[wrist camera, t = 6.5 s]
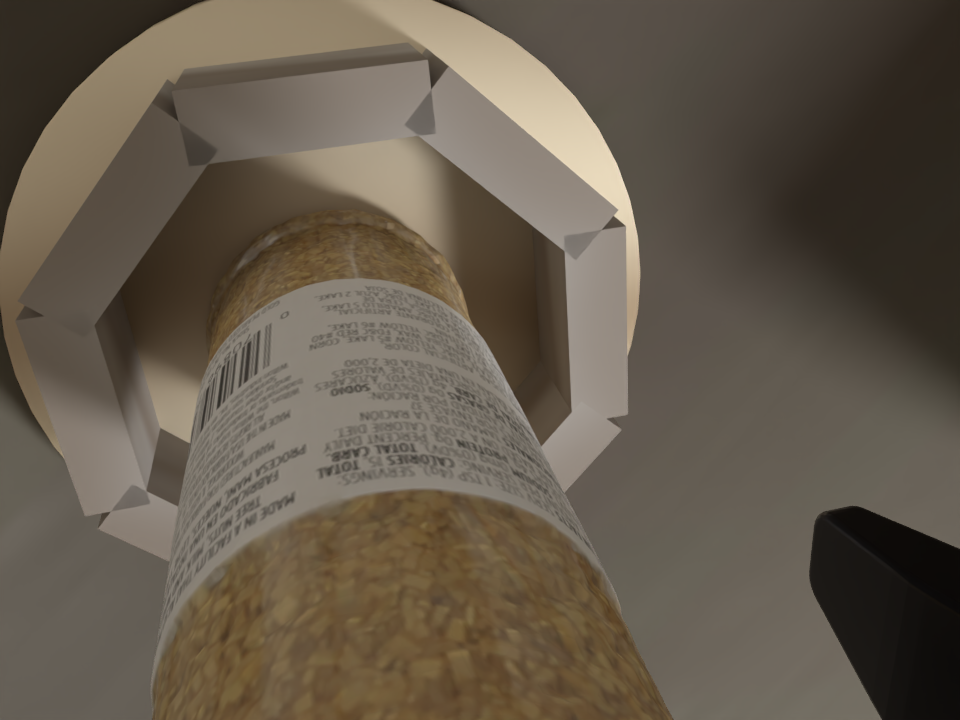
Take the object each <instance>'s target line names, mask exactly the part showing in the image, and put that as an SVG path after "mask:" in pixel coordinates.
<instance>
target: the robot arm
mask: <svg viewBox="0 0 960 720" xmlns="http://www.w3.org/2000/svg"><path fill="white" fill-rule="evenodd" d="M809 576H810V583H811V587H812V590H813V593H814V595H815V597H816V599H817V601H818V603H819V605H820V607H821V609H822V610H823V612H824V614H825V616H826V618H827V620H828V622H829V623H830V625H831V627H832V629H833V631H834V633H835V635H836V636H837V638H838V640H839V642H840V644H841V646H842V648H843V649H844V651H845V653H846V655H847V657H848V659H849V661H850V662H851V664H852V666H853V668H854V670H855V672H856V674H857V675H858V677H859V679H860V681H861V683H862V685H863V687H864V688H865V690H866V692H867V694H868V696H869V698H870V700H871V701H872V703H873V705H874V707H875V708H876V710H877V712H878V714H879V715H880V717H881V719H882V720H960V549H959V548H956V547H954V546H952V545H949V544H947V543H945V542H942V541H940V540H937V539H935V538H933V537H930V536H928V535H926V534H923V533H921V532H918V531H916V530H914V529H911V528H909V527H907V526H904V525H902V524H899V523H897V522H895V521H892V520H890V519H888V518H885V517H883V516H880V515H878V514H876V513H873V512H871V511H869V510H866V509H864V508H861V507H858V506H848V507H843V508H839V509H834V510H829V511H825V512H823V513H821V514H819V515H818V517H817V519H816V520H815V525H814V532H813V542H812V551H811V560H810V570H809Z"/></svg>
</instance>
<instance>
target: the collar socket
mask: <svg viewBox="0 0 960 720" xmlns="http://www.w3.org/2000/svg"><path fill="white" fill-rule="evenodd" d="M351 209H357V210H360V211H364V212H368V213H371V214H375V215H380V216H383V217H386V218H390V219H393V220H395V221H396V222H398V223H400V224H402V225H403V226H405V227H407V228H409V229H411V230H413V231H414V232H416V233H418V234H419V235H421V236H422V237H423V238H424V239H425V240H426V242H427V243H428V244H429V245H431V246H432V247H433V248H435V249H436V250H437V251H438V252H440V253H441V254H442V255H443V256H444V257H445V259H446V260H447V262H448V264H449V265H450V267H451V269H452V272H453V274H454V276H455V278H456V280H457V282H458V284H459V286H460V287H461V289H462V292H463V295H464V298H465V301H466V305H467V310H468V315H469V318H470V320H471V322H472V324H473V326H474V327H475V329H476V330H477V332H478V333H479V334H480V335H481V337H482V338H483V339H484V341H485V342H486V344H487V346H488V347H489V349H490V351H491V352H492V354H493V356H494V358H495V360H496V361H497V363H498V365H499V367H500V369H501V371H502V373H503V375H504V377H505V379H506V380H507V382H508V384H509V386H510V388H511V390H512V392H513V394H514V396H515V398H516V399H517V401H518V403H519V404H520V406H521V408H522V410H523V412H524V414H525V416H526V418H527V420H528V422H529V424H530V426H531V428H532V430H533V432H534V434H535V436H536V438H537V440H538V442H539V444H540V446H541V448H542V450H543V452H544V454H545V456H546V458H547V460H548V462H549V464H550V466H551V468H552V470H553V472H554V474H555V476H556V478H557V480H558V482H559V484H560V486H561V487H562V489H563V491H564V492H565V491H566V490H567V489H568V488H569V487H570V486H571V485H572V484H573V483H574V481H575V480H576V479H577V478H578V477H579V476H580V475H581V474H582V473H583V472H584V470H585V469H586V468H587V467H588V466H589V465H590V464H591V463H592V462H593V461H594V459H595V458H596V457H597V456H598V455H599V454H600V453H601V452H602V451H603V450H604V448H605V447H606V446H607V445H608V444H609V443H610V442H611V441H612V440H613V439H614V438H615V436H616V435H617V434H618V433H619V432H620V431H621V430H622V429H621V428H620V426H619V425H618V423H617V422H616V420H615V419H614V418H613V417H617V416H623V415H628V367H627V355H628V352H629V349H630V346H631V343H632V338H633V333H634V328H635V323H636V317H637V312H638V303H639V287H640V262H639V247H638V236H637V231H636V226H635V222H634V217H633V212H632V207H631V202H630V199H629V196H628V193H627V191H626V188H625V185H624V182H623V179H622V177H621V174H620V171H619V168H618V165H617V163H616V161H615V159H614V158H613V156H612V154H611V152H610V150H609V148H608V146H607V144H606V142H605V140H604V139H603V137H602V135H601V133H600V131H599V129H598V128H597V126H596V125H595V124H594V122H593V121H592V120H591V118H590V117H589V115H588V114H587V113H586V111H585V110H584V108H583V107H582V106H581V104H580V103H579V102H578V100H577V99H576V97H575V96H574V95H573V94H572V93H571V92H570V91H569V90H568V89H567V88H566V87H565V86H564V85H563V84H562V83H561V82H560V81H559V80H558V78H557V77H556V76H555V75H554V74H553V73H552V72H551V71H550V70H549V69H548V68H547V67H546V66H545V65H544V64H542V63H541V62H540V61H538V60H537V59H536V58H535V57H533V56H532V55H531V54H529V53H528V52H527V51H526V50H524V49H523V48H522V47H520V46H519V45H518V44H517V43H515V42H514V41H513V40H512V39H510V38H508V37H506V36H505V35H503V34H501V33H499V32H498V31H496V30H494V29H493V28H491V27H489V26H487V25H486V24H484V23H482V22H480V21H479V20H477V19H475V18H473V17H472V16H469V15H467V14H465V13H463V12H461V11H458V10H456V9H453V8H451V7H449V6H446V5H444V4H441V3H439V2H436V1H434V0H205V1H202V2H199V3H196V4H194V5H192V6H190V7H188V8H186V9H184V10H182V11H180V12H178V13H176V14H174V15H172V16H170V17H168V18H166V19H164V20H162V21H160V22H158V23H156V24H154V25H153V26H151V27H150V28H149V29H147V30H146V31H144V32H143V33H142V34H140V35H139V36H137V37H136V38H134V39H133V40H132V41H130V42H129V43H127V44H126V45H124V46H123V47H122V48H120V49H119V50H117V51H116V52H115V53H114V54H113V55H111V56H110V57H109V58H108V59H107V60H106V61H104V62H103V63H102V64H101V65H100V66H99V67H98V68H97V69H96V70H95V71H94V72H93V73H92V74H91V75H90V76H89V77H88V78H87V79H86V80H85V81H84V82H83V83H81V84H80V85H79V86H78V87H77V88H76V89H75V90H74V91H73V92H72V93H71V95H70V96H69V97H68V99H67V100H66V101H65V103H64V104H63V105H62V107H61V108H60V109H59V110H58V112H57V113H56V114H55V116H54V117H53V118H52V120H51V121H50V122H49V124H48V125H47V126H46V127H45V129H44V130H43V132H42V134H41V136H40V138H39V140H38V142H37V143H36V145H35V147H34V149H33V151H32V153H31V154H30V156H29V158H28V160H27V162H26V164H25V165H24V167H23V169H22V172H21V175H20V178H19V181H18V183H17V186H16V189H15V192H14V195H13V198H12V200H11V203H10V206H9V209H8V213H7V218H6V223H5V229H4V234H3V240H2V245H1V250H0V308H1V315H2V323H3V331H4V338H5V341H6V344H7V348H8V351H9V355H10V358H11V362H12V365H13V369H14V372H15V376H16V378H17V380H18V382H19V385H20V387H21V389H22V391H23V393H24V396H25V398H26V400H27V402H28V404H29V407H30V409H31V411H32V413H33V414H34V416H35V418H36V419H37V421H38V422H39V424H40V425H41V427H42V429H43V430H44V432H45V433H46V435H47V436H48V438H49V440H50V441H51V443H52V444H53V446H54V447H55V448H56V449H57V450H58V452H59V453H60V454H61V455H62V456H63V458H64V459H65V462H66V464H67V467H68V470H69V473H70V476H71V478H72V481H73V484H74V487H75V490H76V492H77V495H78V498H79V501H80V504H81V506H82V509H83V512H84V515H85V516H89V515H95V514H100V513H102V516H101V519H100V523H99V526H98V529H99V530H101V531H103V532H105V533H108V534H110V535H112V536H114V537H116V538H118V539H121V540H123V541H125V542H127V543H129V544H132V545H134V546H136V547H138V548H140V549H143V550H145V551H147V552H149V553H151V554H154V555H156V556H158V557H160V558H162V559H165V560H167V561H170V554H171V547H172V541H173V535H174V529H175V523H176V517H177V511H178V506H179V500H180V495H181V490H182V485H183V479H184V474H185V469H186V463H187V457H188V451H189V445H190V439H191V432H192V425H193V419H194V413H195V408H196V403H197V397H198V393H199V389H200V386H201V382H202V379H203V377H204V374H205V372H206V370H207V365H208V359H209V357H208V350H207V341H206V325H207V319H208V315H209V312H210V306H211V300H212V297H213V294H214V292H215V289H216V286H217V284H218V283H219V281H220V280H221V279H222V277H223V276H224V275H225V274H226V273H227V271H228V268H229V266H230V265H231V263H232V261H233V260H234V259H235V258H236V256H238V255H239V254H240V253H241V252H242V251H244V250H245V248H246V247H247V246H248V244H249V243H250V242H251V241H252V240H253V239H254V238H256V237H257V236H259V235H260V234H262V233H264V232H265V231H267V230H269V229H270V228H272V227H274V226H276V225H279V224H282V223H284V222H286V221H288V220H289V219H291V218H294V217H298V216H302V215H308V214H312V213H315V212H320V211H325V210H351Z"/></svg>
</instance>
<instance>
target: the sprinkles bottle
mask: <svg viewBox="0 0 960 720" xmlns="http://www.w3.org/2000/svg"><path fill="white" fill-rule="evenodd" d="M206 341H207V350H208V357H209V359H208V365H207V370H206V372H205V374H204V377H203V379H202V382H201V386H200V389H199V393H198V397H197V403H196V408H195V413H194V419H193V425H192V432H191V439H190V445H189V451H188V457H187V463H186V469H185V474H184V479H183V485H182V490H181V495H180V500H179V506H178V511H177V517H176V523H175V529H174V535H173V541H172V547H171V554H170V561H169V569H168V576H167V583H166V589H165V595H164V602H163V608H162V614H161V621H160V627H159V633H158V639H157V645H156V652H155V658H154V664H153V672H152V679H151V686H150V687H151V700H152V713H153V719H152V720H673V718H672V716H671V714H670V712H669V711H668V709H667V707H666V705H665V703H664V701H663V699H662V697H661V695H660V693H659V691H658V689H657V687H656V685H655V683H654V681H653V679H652V677H651V675H650V674H649V672H648V670H647V669H646V666H645V663H644V661H643V659H642V658H641V656H640V654H639V652H638V650H637V647H636V645H635V643H634V641H633V638H632V636H631V634H630V631H629V629H628V627H627V626H626V624H625V622H624V620H623V619H622V614H621V608H620V604H619V601H618V598H617V595H616V592H615V590H614V588H613V586H612V584H611V582H610V580H609V578H608V576H607V574H606V572H605V570H604V568H603V566H602V564H601V563H600V561H599V559H598V557H597V555H596V553H595V551H594V549H593V547H592V545H591V543H590V541H589V539H588V537H587V535H586V533H585V531H584V529H583V528H582V526H581V524H580V522H579V520H578V518H577V516H576V514H575V512H574V510H573V508H572V507H571V505H570V503H569V501H568V499H567V497H566V495H565V493H564V491H563V489H562V487H561V486H560V484H559V482H558V480H557V478H556V476H555V474H554V472H553V470H552V468H551V466H550V464H549V462H548V460H547V458H546V456H545V454H544V452H543V450H542V448H541V446H540V444H539V442H538V440H537V438H536V436H535V434H534V432H533V430H532V428H531V426H530V424H529V422H528V420H527V418H526V416H525V414H524V412H523V410H522V408H521V406H520V404H519V403H518V401H517V399H516V398H515V396H514V394H513V392H512V390H511V388H510V386H509V384H508V382H507V380H506V379H505V377H504V375H503V373H502V371H501V369H500V367H499V365H498V363H497V361H496V360H495V358H494V356H493V354H492V352H491V351H490V349H489V347H488V346H487V344H486V342H485V341H484V339H483V338H482V337H481V335H480V334H479V333H478V332H477V330H476V329H475V327H474V326H473V324H472V322H471V320H470V318H469V315H468V310H467V305H466V301H465V298H464V295H463V292H462V289H461V287H460V286H459V284H458V282H457V280H456V278H455V276H454V274H453V272H452V269H451V267H450V265H449V264H448V262H447V260H446V259H445V257H444V256H443V255H442V254H441V253H440V252H438V251H437V250H436V249H435V248H433V247H432V246H431V245H429V244H428V243H427V242H426V240H425V239H424V238H423V237H422V236H421V235H419V234H418V233H416V232H414V231H413V230H411V229H409V228H407V227H405V226H403V225H402V224H400V223H398V222H396V221H395V220H393V219H390V218H386V217H383V216H380V215H375V214H371V213H368V212H364V211H360V210H357V209H351V210H325V211H320V212H315V213H312V214H308V215H302V216H298V217H294V218H291V219H289V220H288V221H286V222H284V223H282V224H279V225H276V226H274V227H272V228H270V229H269V230H267V231H265V232H264V233H262V234H260V235H259V236H257V237H256V238H254V239H253V240H252V241H251V242H250V243H249V244H248V246H247V247H246V248H245V250H244V251H242V252H241V253H240V254H239V255H238V256H236V258H235V259H234V260H233V261H232V263H231V265H230V266H229V268H228V271H227V273H226V274H225V275H224V276H223V277H222V279H221V280H220V281H219V283H218V284H217V286H216V289H215V292H214V294H213V297H212V300H211V306H210V312H209V315H208V319H207V325H206Z"/></svg>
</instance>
